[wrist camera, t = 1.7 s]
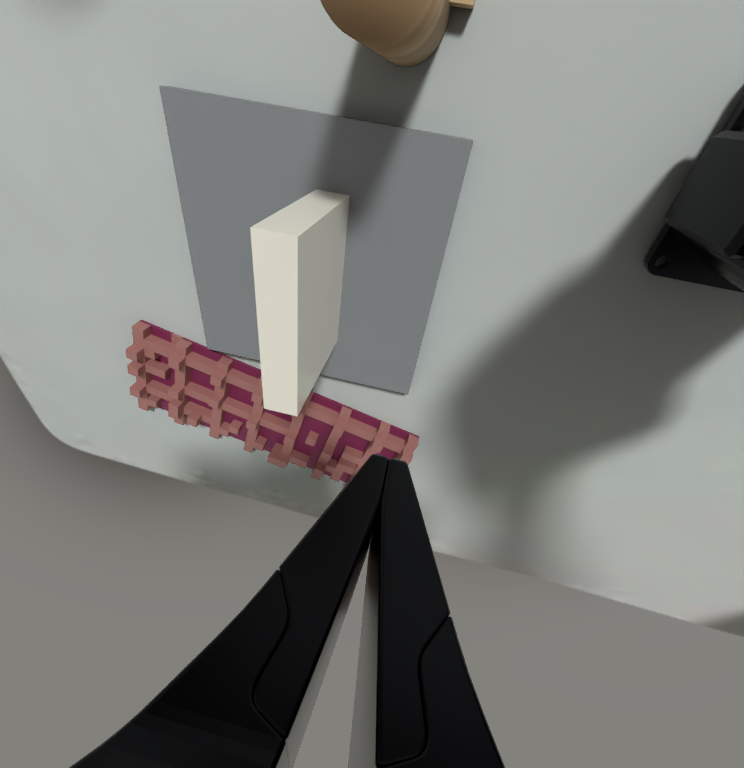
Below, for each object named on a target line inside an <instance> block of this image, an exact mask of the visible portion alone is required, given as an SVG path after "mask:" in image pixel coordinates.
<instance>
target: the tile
mask: <svg viewBox="0 0 744 768" xmlns="http://www.w3.org/2000/svg"><path fill="white" fill-rule="evenodd" d="M349 198H350V196H349V195H344V194H339V193H334V192H328V191H323V190H318V189H316V190H315V191H313V192H311V193H309V194H308V195H306V196H304V197H302V198H301V199H299V200H297V201H295V202H294V203H292V204H290V205H288V206H287V207H285V208H283V209H281V210H280V211H278V212H276V213H274V214H273V215H271V216H269V217H267V218H266V219H264V220H262V221H260V222H259V223H257V224H255V225H253V226H252V227H250V232H251V245H252V258H253V271H254V284H255V297H256V311H257V324H258V337H259V350H260V363H261V376H262V389H263V402H264V409H268V410H272V411H276V412H281V413H285V414H289V415H293V416H298V414H299V412H300V411H301V409H302V407H303V405H304V403H305V401H306V399H307V397H308V395H309V394H310V392H311V390H312V388H313V386H314V384H315V382H316V380H317V378H318V377H319V375H320V373H321V371H322V369H323V367H324V365H325V363H326V361H327V360H328V358H329V356H330V354H331V352H332V350H333V348H334V346H335V344H336V343H337V341H338V329H339V317H340V305H341V293H342V281H343V269H344V257H345V245H346V234H347V222H348V210H349Z"/></svg>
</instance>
